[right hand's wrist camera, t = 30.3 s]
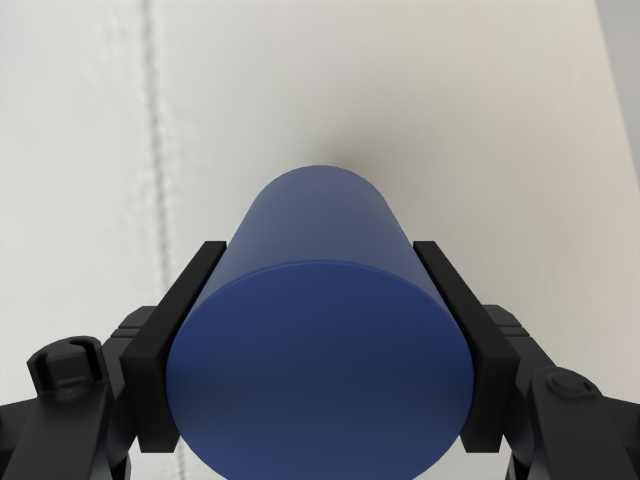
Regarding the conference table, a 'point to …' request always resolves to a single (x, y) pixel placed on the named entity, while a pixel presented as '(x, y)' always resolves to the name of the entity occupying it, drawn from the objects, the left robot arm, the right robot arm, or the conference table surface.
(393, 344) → the can
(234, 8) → the conference table surface
